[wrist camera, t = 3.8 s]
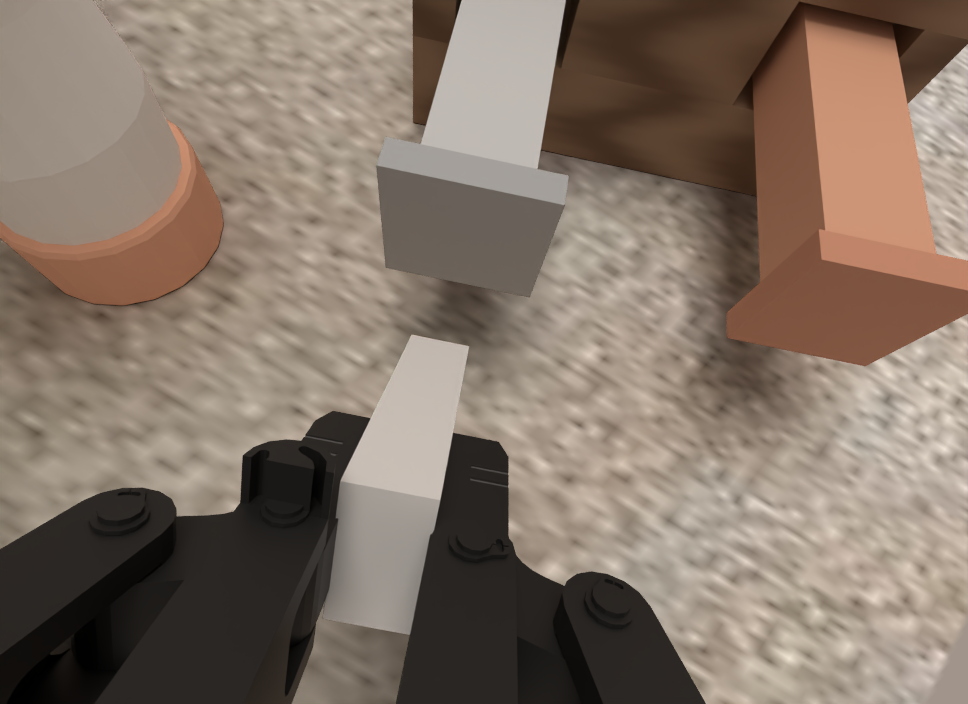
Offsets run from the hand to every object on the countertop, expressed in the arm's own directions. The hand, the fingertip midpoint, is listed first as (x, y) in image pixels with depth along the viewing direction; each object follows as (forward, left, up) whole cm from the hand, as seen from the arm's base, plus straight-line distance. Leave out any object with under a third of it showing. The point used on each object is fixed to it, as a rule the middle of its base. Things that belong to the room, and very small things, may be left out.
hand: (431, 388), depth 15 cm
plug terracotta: (+12, +12, -3) cm, 17 cm away
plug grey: (0, +12, -3) cm, 12 cm away
